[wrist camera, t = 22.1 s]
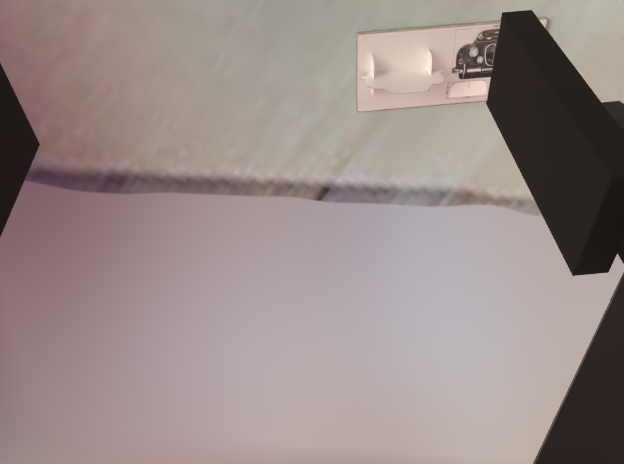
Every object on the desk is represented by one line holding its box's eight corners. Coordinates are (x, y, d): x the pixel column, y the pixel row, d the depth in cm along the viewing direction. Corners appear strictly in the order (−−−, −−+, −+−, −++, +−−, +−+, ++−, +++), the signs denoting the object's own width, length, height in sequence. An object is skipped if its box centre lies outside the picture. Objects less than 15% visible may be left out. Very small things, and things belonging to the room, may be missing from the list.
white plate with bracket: (356, 109, 50) (365, 136, 46) (356, 32, 46) (366, 56, 42) (528, 94, 50) (550, 119, 47) (545, 17, 46) (569, 39, 43)
